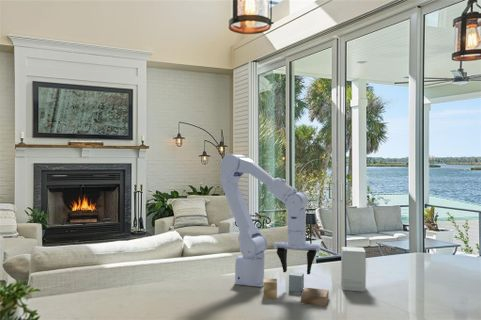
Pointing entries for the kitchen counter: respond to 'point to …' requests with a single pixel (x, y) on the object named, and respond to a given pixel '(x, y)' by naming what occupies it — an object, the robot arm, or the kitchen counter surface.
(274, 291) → the oak block
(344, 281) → the supplement box
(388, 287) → the kitchen counter surface
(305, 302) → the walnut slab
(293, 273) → the slate block
